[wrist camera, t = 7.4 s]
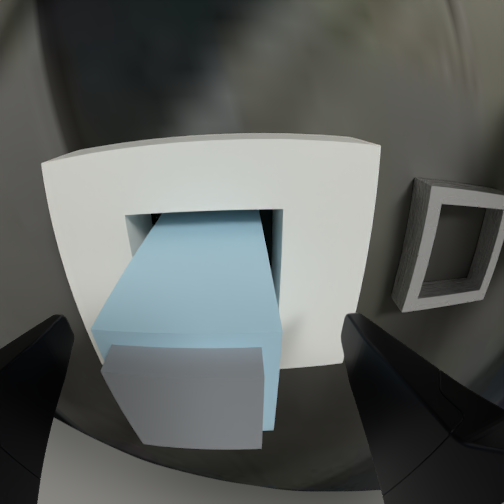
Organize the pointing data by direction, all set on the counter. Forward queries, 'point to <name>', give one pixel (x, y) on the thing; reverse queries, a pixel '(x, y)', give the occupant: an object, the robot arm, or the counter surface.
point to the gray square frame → (422, 237)
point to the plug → (195, 333)
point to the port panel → (227, 198)
